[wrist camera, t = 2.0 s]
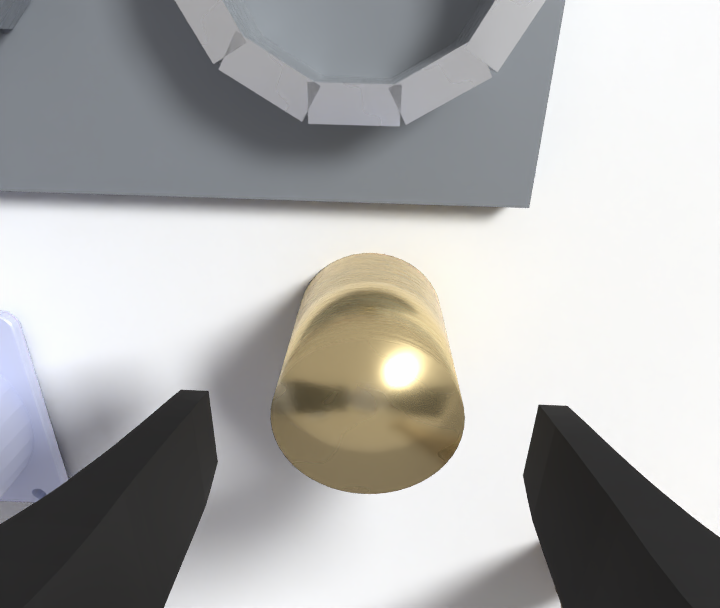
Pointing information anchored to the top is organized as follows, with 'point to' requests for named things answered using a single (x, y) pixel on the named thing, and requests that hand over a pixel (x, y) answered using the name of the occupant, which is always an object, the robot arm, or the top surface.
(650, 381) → the top surface
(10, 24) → the narrow collar
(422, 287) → the brass peg
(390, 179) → the board
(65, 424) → the top surface
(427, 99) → the wide collar
